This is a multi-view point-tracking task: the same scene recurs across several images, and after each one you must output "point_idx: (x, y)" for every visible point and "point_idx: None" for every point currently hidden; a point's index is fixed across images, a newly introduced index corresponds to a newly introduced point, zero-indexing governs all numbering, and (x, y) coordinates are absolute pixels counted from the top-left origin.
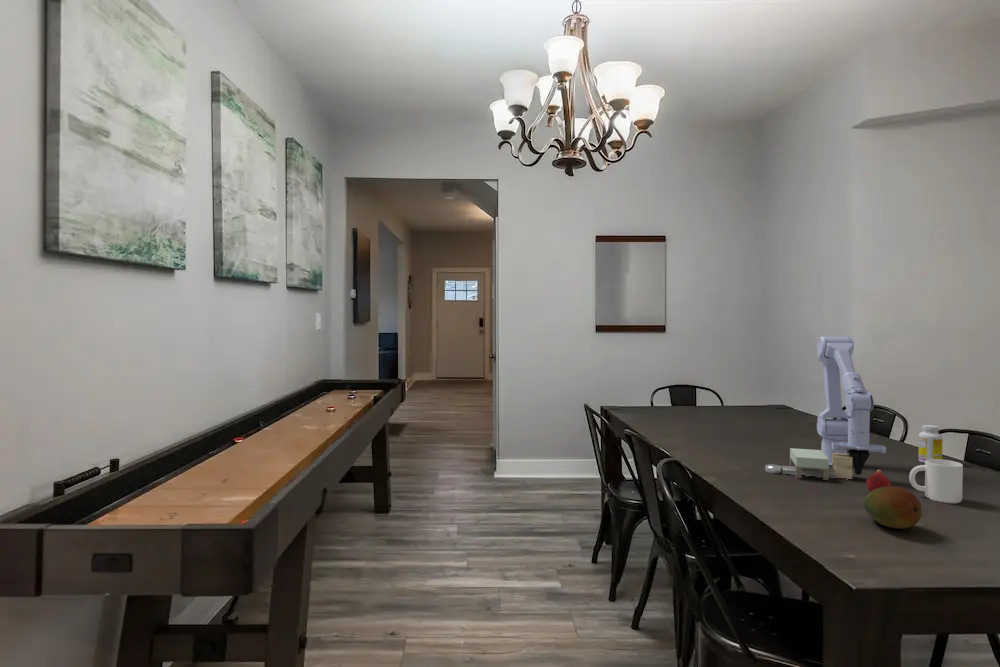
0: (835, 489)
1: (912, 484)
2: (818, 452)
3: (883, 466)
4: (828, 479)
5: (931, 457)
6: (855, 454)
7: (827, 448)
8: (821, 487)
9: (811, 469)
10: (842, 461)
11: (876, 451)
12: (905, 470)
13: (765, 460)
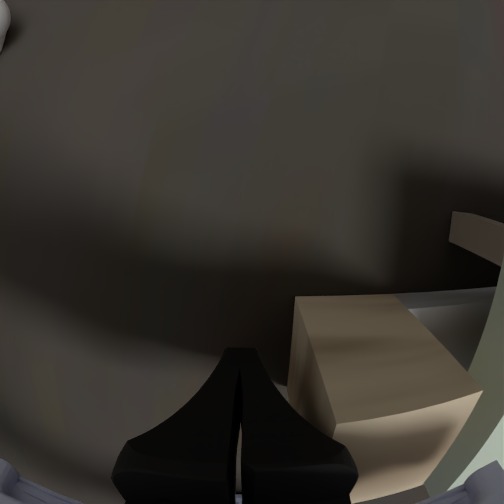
0: (444, 33)
1: (7, 8)
2: (488, 454)
3: (112, 496)
4: (459, 212)
5: None
6: (311, 458)
7: None
8: (494, 70)
9: None
10: (414, 372)
11: (53, 497)
12: (51, 461)
13: None
